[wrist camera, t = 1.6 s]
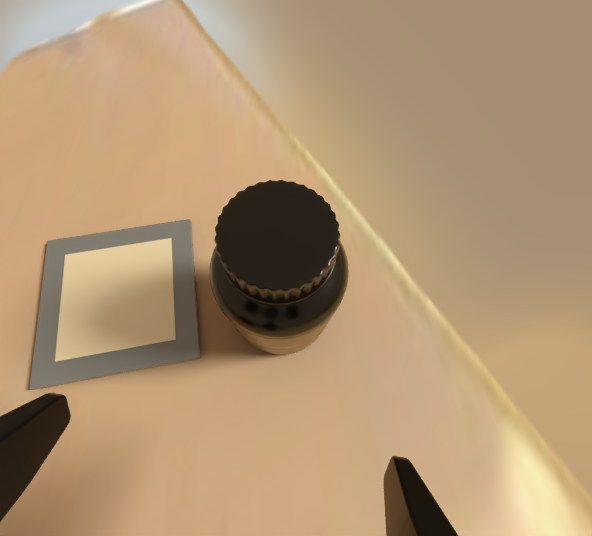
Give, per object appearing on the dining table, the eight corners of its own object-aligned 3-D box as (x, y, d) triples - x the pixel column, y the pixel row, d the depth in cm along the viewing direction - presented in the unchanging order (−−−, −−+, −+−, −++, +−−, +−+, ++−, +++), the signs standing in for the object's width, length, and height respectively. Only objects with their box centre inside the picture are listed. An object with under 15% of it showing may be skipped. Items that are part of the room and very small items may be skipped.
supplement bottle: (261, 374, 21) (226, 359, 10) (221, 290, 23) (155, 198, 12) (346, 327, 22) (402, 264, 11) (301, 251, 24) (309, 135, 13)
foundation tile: (200, 358, 21) (198, 357, 21) (34, 389, 20) (28, 389, 20) (191, 221, 25) (189, 218, 25) (51, 243, 24) (46, 240, 24)
